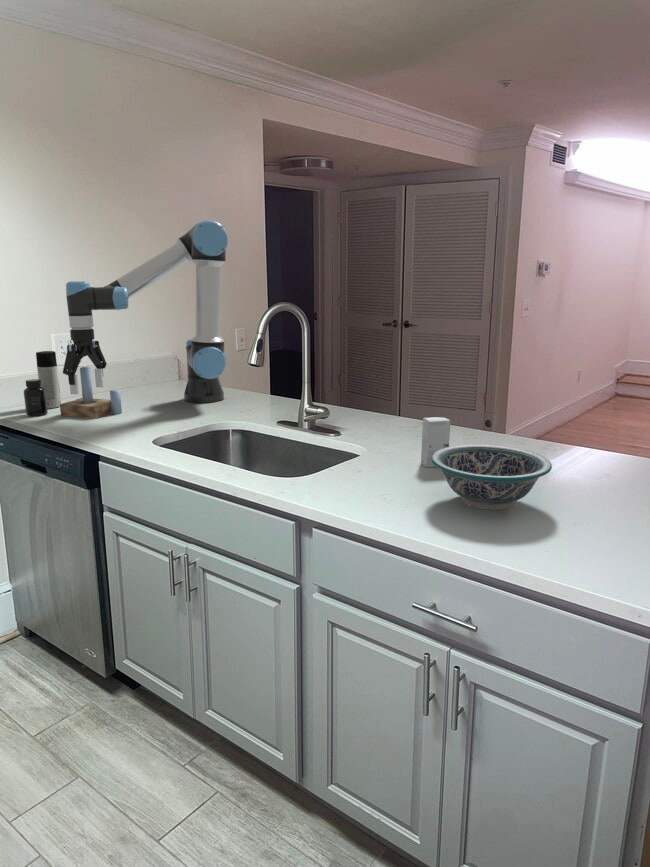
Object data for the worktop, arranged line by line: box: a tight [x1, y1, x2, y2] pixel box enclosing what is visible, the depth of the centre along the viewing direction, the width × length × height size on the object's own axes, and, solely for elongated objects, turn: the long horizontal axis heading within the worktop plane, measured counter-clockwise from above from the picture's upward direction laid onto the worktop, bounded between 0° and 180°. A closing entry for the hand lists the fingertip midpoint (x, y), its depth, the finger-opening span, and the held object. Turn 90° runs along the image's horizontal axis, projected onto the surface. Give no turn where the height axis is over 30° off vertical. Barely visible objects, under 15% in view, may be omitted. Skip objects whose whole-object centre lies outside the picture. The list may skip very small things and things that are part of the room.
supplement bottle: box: [23, 378, 49, 417], centre depth 223 cm, size 7×7×12 cm
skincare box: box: [420, 416, 451, 468], centre depth 167 cm, size 6×4×12 cm
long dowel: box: [79, 366, 94, 404], centre depth 224 cm, size 3×3×16 cm
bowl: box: [431, 443, 553, 511], centre depth 141 cm, size 25×25×10 cm
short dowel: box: [109, 389, 123, 415], centre depth 225 cm, size 3×3×8 cm
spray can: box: [35, 350, 62, 409], centre depth 234 cm, size 7×7×20 cm
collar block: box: [59, 397, 112, 419], centre depth 226 cm, size 14×12×4 cm
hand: (87, 390), depth 224 cm, fingers open, 13 cm apart
